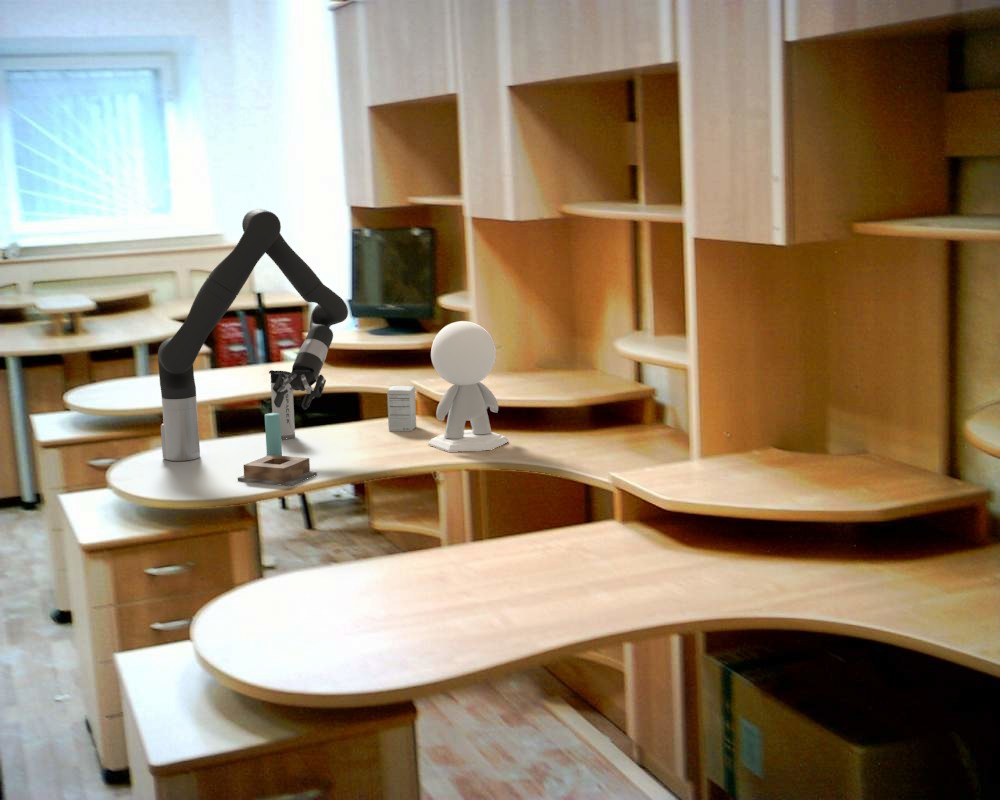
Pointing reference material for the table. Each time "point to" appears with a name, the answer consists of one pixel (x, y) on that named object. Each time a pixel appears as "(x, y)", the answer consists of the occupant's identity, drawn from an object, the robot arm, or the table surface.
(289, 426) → the travel mug
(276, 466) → the socket
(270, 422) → the peg
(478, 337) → the white toy figurine
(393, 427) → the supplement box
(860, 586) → the table surface
